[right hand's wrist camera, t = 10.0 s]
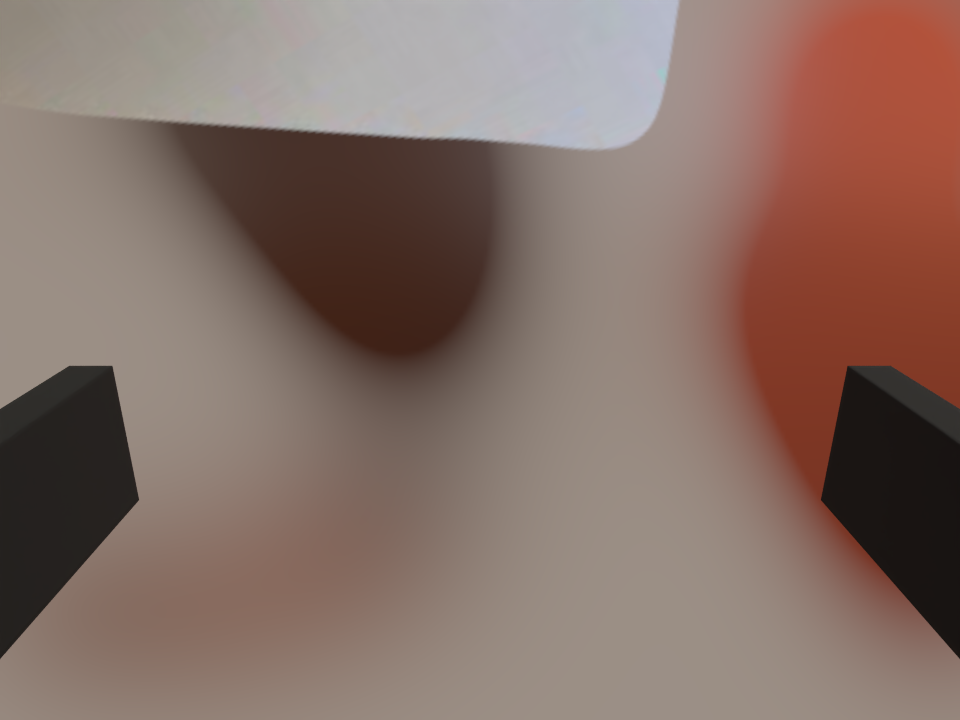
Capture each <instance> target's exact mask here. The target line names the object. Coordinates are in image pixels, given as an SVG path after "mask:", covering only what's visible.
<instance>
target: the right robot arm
mask: <svg viewBox="0 0 960 720" xmlns="http://www.w3.org/2000/svg"><path fill="white" fill-rule="evenodd" d="M138 500H139V497H138V492H137V487H136V482H135V477H134V472H133V467H132V462H131V457H130V452H129V447H128V442H127V437H126V432H125V427H124V422H123V417H122V412H121V407H120V402H119V397H118V392H117V387H116V382H115V377H114V372H113V367H112V366H69V367H67V368H65V369H64V370H62V371H61V372H59V373H57V374H56V375H54V376H52V377H51V378H49V379H48V380H46V381H44V382H43V383H41V384H40V385H38V386H36V387H35V388H33V389H32V390H30V391H28V392H27V393H25V394H24V395H22V396H21V397H19V398H17V399H16V400H14V401H12V402H11V403H9V404H8V405H6V406H4V407H3V408H1V409H0V658H1V657H2V656H3V655H4V654H5V653H6V652H7V650H8V649H9V648H10V647H11V646H12V645H13V644H14V642H15V641H16V640H17V639H18V638H19V637H20V636H21V634H22V633H23V632H24V631H25V630H26V629H27V628H28V626H29V625H30V624H31V623H32V622H33V621H34V620H35V618H36V617H37V616H38V615H39V614H40V613H41V612H42V610H43V609H44V608H45V607H46V606H47V605H48V603H49V602H50V601H51V600H52V599H53V598H54V597H55V595H56V594H57V593H58V592H59V591H60V590H61V589H62V588H63V586H64V585H65V584H66V583H67V582H68V581H69V579H70V578H71V577H72V576H73V575H74V574H75V573H76V571H77V570H78V569H79V568H80V567H81V566H82V565H83V563H84V562H85V561H86V560H87V559H88V558H89V557H90V555H91V554H92V553H93V552H94V551H95V550H96V549H97V547H98V546H99V545H100V544H101V543H102V542H103V541H104V539H105V538H106V537H107V536H108V535H109V534H110V533H111V531H112V530H113V529H114V528H115V527H116V526H117V525H118V523H119V522H120V521H121V520H122V519H123V518H124V517H125V515H126V514H127V513H128V512H129V511H130V510H131V509H132V507H133V506H134V505H135V504H136V503H137V502H138ZM821 501H822V502H823V503H824V504H825V505H826V506H827V507H828V509H829V510H830V511H831V512H832V513H833V514H834V515H835V517H836V518H837V519H838V520H839V521H840V522H841V523H842V525H843V526H844V527H845V528H846V529H847V530H848V531H849V533H850V534H851V535H852V536H853V537H854V538H855V539H856V541H857V542H858V543H859V544H860V545H861V546H862V547H863V549H864V550H865V551H866V552H867V553H868V554H869V555H870V557H871V558H872V559H873V560H874V561H875V562H876V563H877V565H878V566H879V567H880V568H881V569H882V570H883V571H884V573H885V574H886V575H887V576H888V577H889V578H890V580H891V581H892V582H893V583H894V584H895V585H896V586H897V588H898V589H899V590H900V591H901V592H902V593H903V594H904V595H905V597H906V598H907V599H908V600H909V601H910V602H911V604H912V605H913V606H914V607H915V608H916V609H917V610H918V612H919V613H920V614H921V615H922V616H923V617H924V618H925V620H926V621H927V622H928V623H929V624H930V625H931V626H932V628H933V629H934V630H935V631H936V632H937V633H938V634H939V636H940V637H941V638H942V639H943V640H944V641H945V642H946V644H947V645H948V646H949V647H950V648H951V649H952V650H953V652H954V653H955V654H956V655H957V656H958V657H959V658H960V409H959V408H957V407H956V406H954V405H952V404H951V403H949V402H948V401H946V400H944V399H943V398H941V397H940V396H938V395H936V394H935V393H933V392H932V391H930V390H928V389H927V388H925V387H924V386H922V385H920V384H919V383H917V382H916V381H914V380H912V379H911V378H909V377H908V376H906V375H904V374H903V373H901V372H899V371H898V370H896V369H895V368H893V367H891V366H848V367H847V372H846V377H845V382H844V387H843V392H842V397H841V402H840V407H839V412H838V417H837V422H836V427H835V432H834V437H833V442H832V447H831V452H830V457H829V462H828V467H827V472H826V477H825V482H824V487H823V492H822V497H821Z"/></svg>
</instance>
